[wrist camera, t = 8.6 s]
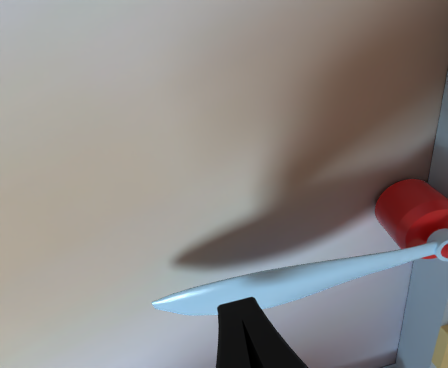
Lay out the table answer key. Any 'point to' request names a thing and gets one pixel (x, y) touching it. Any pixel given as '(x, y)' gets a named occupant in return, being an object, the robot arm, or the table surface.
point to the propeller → (340, 268)
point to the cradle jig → (428, 281)
